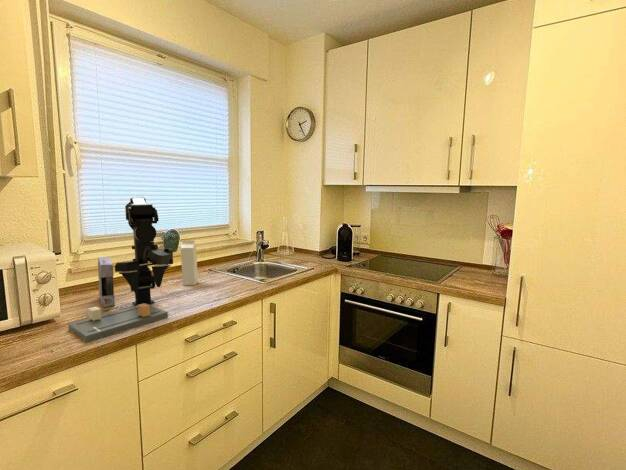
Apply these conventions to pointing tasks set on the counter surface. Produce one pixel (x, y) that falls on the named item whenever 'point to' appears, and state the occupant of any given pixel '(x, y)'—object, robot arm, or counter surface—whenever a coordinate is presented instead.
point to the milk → (189, 263)
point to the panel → (114, 323)
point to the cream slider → (94, 313)
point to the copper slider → (143, 310)
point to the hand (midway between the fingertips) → (147, 289)
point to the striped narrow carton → (106, 282)
